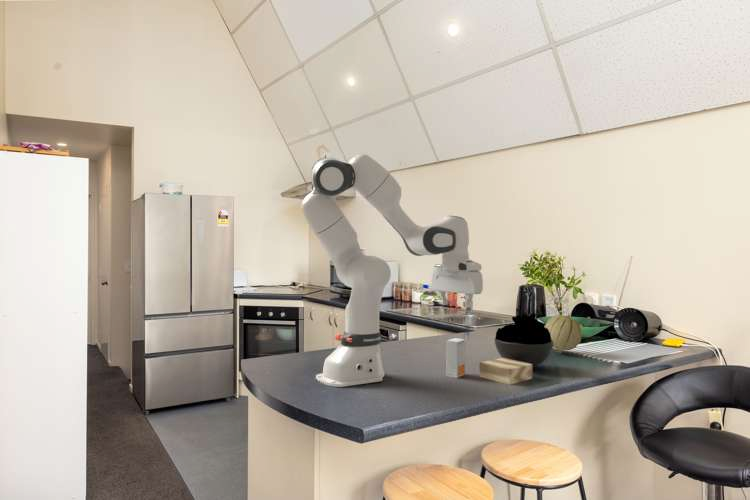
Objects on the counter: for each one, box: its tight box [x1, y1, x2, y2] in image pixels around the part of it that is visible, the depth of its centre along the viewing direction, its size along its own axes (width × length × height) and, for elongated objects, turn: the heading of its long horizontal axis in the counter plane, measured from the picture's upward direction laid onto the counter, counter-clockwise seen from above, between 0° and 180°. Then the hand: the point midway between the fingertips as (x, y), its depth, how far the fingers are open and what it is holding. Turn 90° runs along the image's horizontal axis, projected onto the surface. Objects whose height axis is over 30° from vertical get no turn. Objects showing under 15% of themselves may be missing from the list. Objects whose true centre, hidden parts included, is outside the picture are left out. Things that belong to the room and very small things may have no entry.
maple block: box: [479, 357, 534, 385], centre depth 159 cm, size 12×12×5 cm
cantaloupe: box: [544, 313, 583, 351], centre depth 202 cm, size 15×15×15 cm
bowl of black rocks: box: [494, 312, 554, 368], centre depth 173 cm, size 20×20×19 cm
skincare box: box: [445, 337, 466, 379], centre depth 162 cm, size 6×4×12 cm
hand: (455, 306), depth 162 cm, fingers open, 8 cm apart
